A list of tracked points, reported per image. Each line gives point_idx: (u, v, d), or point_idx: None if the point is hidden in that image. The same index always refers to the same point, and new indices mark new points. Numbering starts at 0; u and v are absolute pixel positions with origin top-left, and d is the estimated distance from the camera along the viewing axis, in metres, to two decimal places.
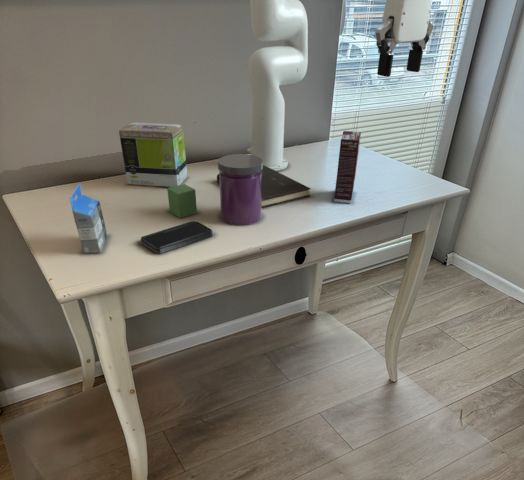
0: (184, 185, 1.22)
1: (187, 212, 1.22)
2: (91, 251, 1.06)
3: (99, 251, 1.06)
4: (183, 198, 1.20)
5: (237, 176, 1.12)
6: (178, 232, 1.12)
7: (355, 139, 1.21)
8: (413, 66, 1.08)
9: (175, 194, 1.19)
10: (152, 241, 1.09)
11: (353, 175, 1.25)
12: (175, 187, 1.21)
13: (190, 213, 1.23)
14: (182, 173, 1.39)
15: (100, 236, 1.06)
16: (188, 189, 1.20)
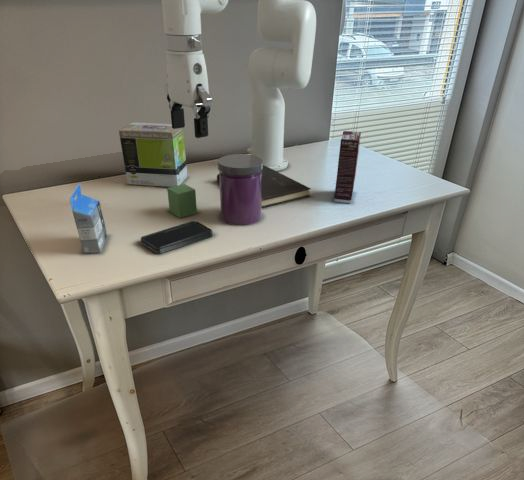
0: (184, 185, 1.22)
1: (187, 212, 1.22)
2: (91, 251, 1.06)
3: (99, 251, 1.06)
4: (183, 198, 1.20)
5: (237, 176, 1.12)
6: (178, 232, 1.12)
7: (355, 139, 1.21)
8: None
9: (175, 194, 1.19)
10: (152, 241, 1.09)
11: (353, 175, 1.25)
12: (175, 187, 1.21)
13: (190, 213, 1.23)
14: (182, 173, 1.39)
15: (100, 236, 1.06)
16: (188, 189, 1.20)
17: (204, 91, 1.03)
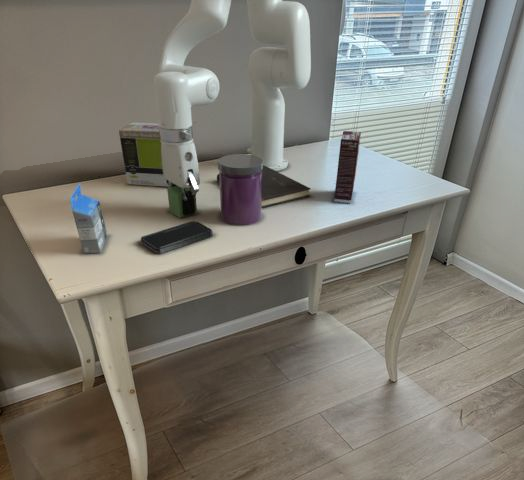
0: None
1: None
2: (91, 251, 1.06)
3: (99, 251, 1.06)
4: None
5: (237, 176, 1.12)
6: (178, 232, 1.12)
7: (355, 139, 1.21)
8: None
9: (175, 194, 1.19)
10: (152, 241, 1.09)
11: (353, 175, 1.25)
12: (175, 187, 1.21)
13: None
14: None
15: (100, 236, 1.06)
16: (188, 189, 1.20)
17: (193, 180, 1.15)
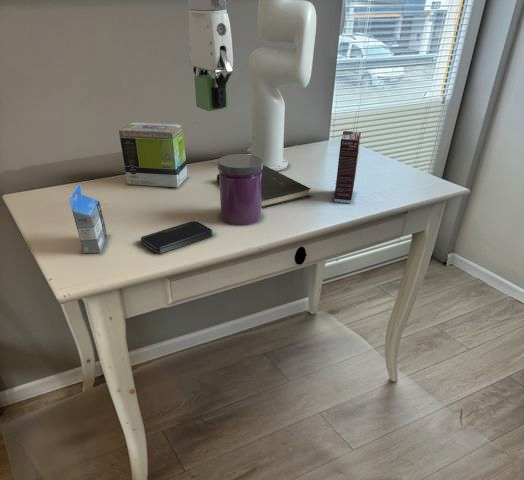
0: None
1: None
2: (91, 251, 1.06)
3: (99, 251, 1.06)
4: None
5: (237, 176, 1.12)
6: (178, 232, 1.12)
7: (355, 139, 1.21)
8: None
9: (204, 81, 1.03)
10: (152, 241, 1.09)
11: (353, 175, 1.25)
12: (203, 75, 1.05)
13: None
14: (182, 173, 1.39)
15: (100, 236, 1.06)
16: None
17: (226, 60, 0.98)
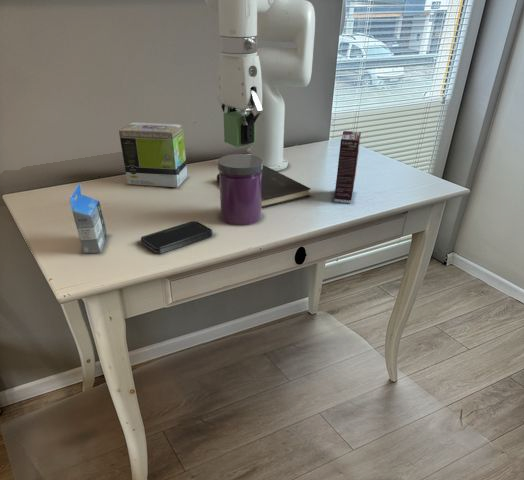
0: None
1: None
2: (91, 251, 1.06)
3: (99, 251, 1.06)
4: (242, 124, 1.07)
5: (237, 176, 1.12)
6: (178, 232, 1.12)
7: (355, 139, 1.21)
8: None
9: (234, 118, 1.06)
10: (152, 241, 1.09)
11: (353, 175, 1.25)
12: (232, 112, 1.08)
13: None
14: (182, 173, 1.39)
15: (100, 236, 1.06)
16: (247, 114, 1.07)
17: (257, 100, 1.02)
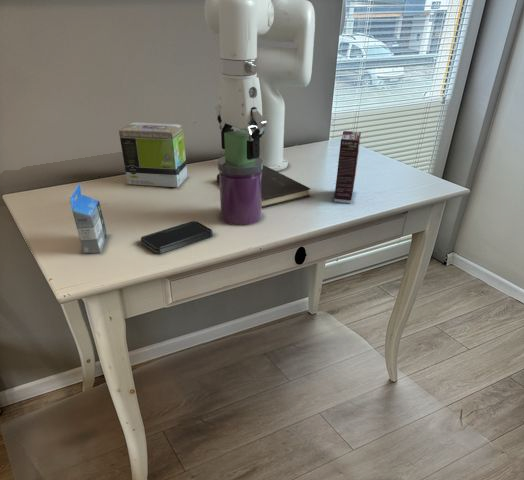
0: (242, 130, 1.12)
1: (246, 160, 1.12)
2: (91, 251, 1.06)
3: (99, 251, 1.06)
4: (243, 143, 1.09)
5: (237, 176, 1.12)
6: (178, 232, 1.12)
7: (355, 139, 1.21)
8: None
9: (234, 138, 1.08)
10: (152, 241, 1.09)
11: (353, 175, 1.25)
12: (233, 132, 1.11)
13: (248, 161, 1.13)
14: (182, 173, 1.39)
15: (100, 236, 1.06)
16: None
17: (259, 114, 1.03)
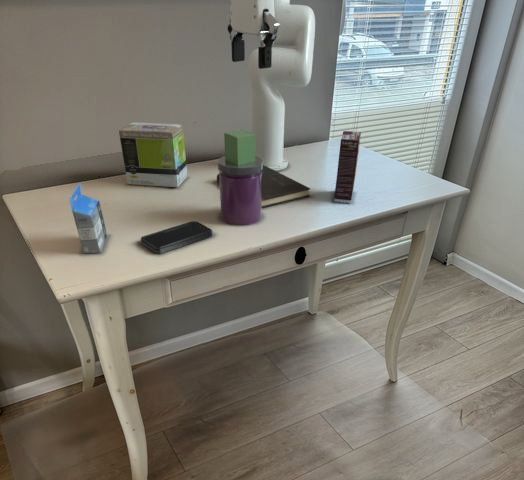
0: (242, 130, 1.12)
1: (246, 160, 1.12)
2: (91, 251, 1.06)
3: (99, 251, 1.06)
4: (243, 143, 1.09)
5: (237, 176, 1.12)
6: (178, 232, 1.12)
7: (355, 139, 1.21)
8: None
9: (234, 138, 1.08)
10: (152, 241, 1.09)
11: (353, 175, 1.25)
12: (233, 132, 1.11)
13: (248, 161, 1.13)
14: (182, 173, 1.39)
15: (100, 236, 1.06)
16: (247, 134, 1.10)
17: (271, 16, 0.99)
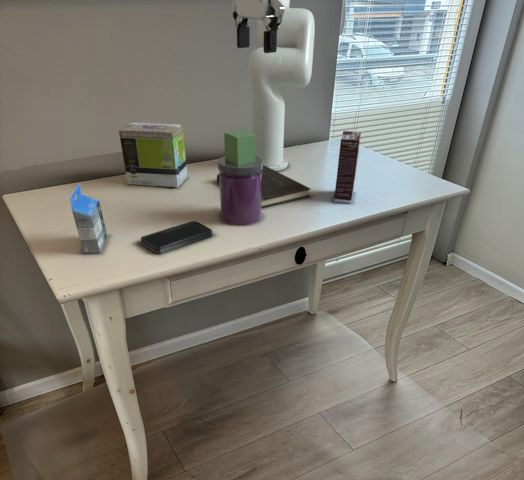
0: (242, 130, 1.12)
1: (246, 160, 1.12)
2: (91, 251, 1.06)
3: (99, 251, 1.06)
4: (243, 143, 1.09)
5: (237, 176, 1.12)
6: (178, 232, 1.12)
7: (355, 139, 1.21)
8: None
9: (234, 138, 1.08)
10: (152, 241, 1.09)
11: (353, 175, 1.25)
12: (233, 132, 1.11)
13: (248, 161, 1.13)
14: (182, 173, 1.39)
15: (100, 236, 1.06)
16: (247, 134, 1.10)
17: (277, 0, 1.01)
